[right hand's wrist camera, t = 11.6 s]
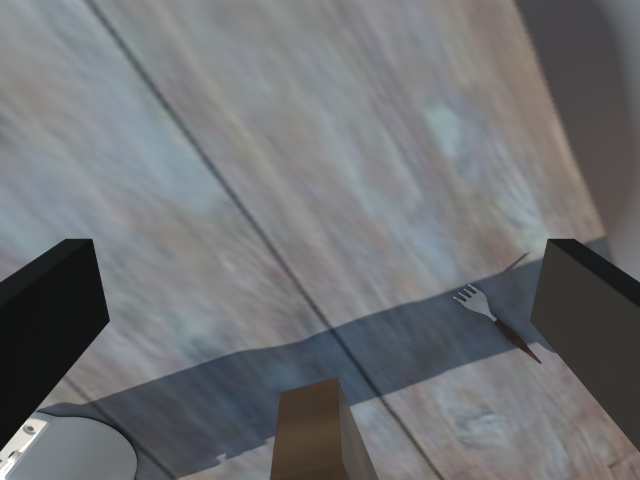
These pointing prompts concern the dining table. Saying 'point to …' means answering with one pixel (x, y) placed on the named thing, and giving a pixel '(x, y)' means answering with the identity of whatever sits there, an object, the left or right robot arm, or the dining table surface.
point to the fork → (493, 318)
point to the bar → (318, 437)
